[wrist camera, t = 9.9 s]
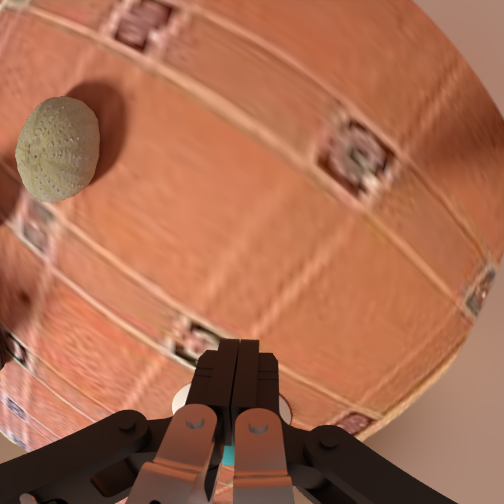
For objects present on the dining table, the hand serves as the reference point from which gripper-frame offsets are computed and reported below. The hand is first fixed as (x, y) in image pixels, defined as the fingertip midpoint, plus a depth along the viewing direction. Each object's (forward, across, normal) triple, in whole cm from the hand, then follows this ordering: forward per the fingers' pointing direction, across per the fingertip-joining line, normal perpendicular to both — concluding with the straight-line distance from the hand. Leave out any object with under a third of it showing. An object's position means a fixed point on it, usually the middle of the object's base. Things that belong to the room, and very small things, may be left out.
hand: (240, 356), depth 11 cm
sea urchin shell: (+14, +17, -9) cm, 24 cm away
